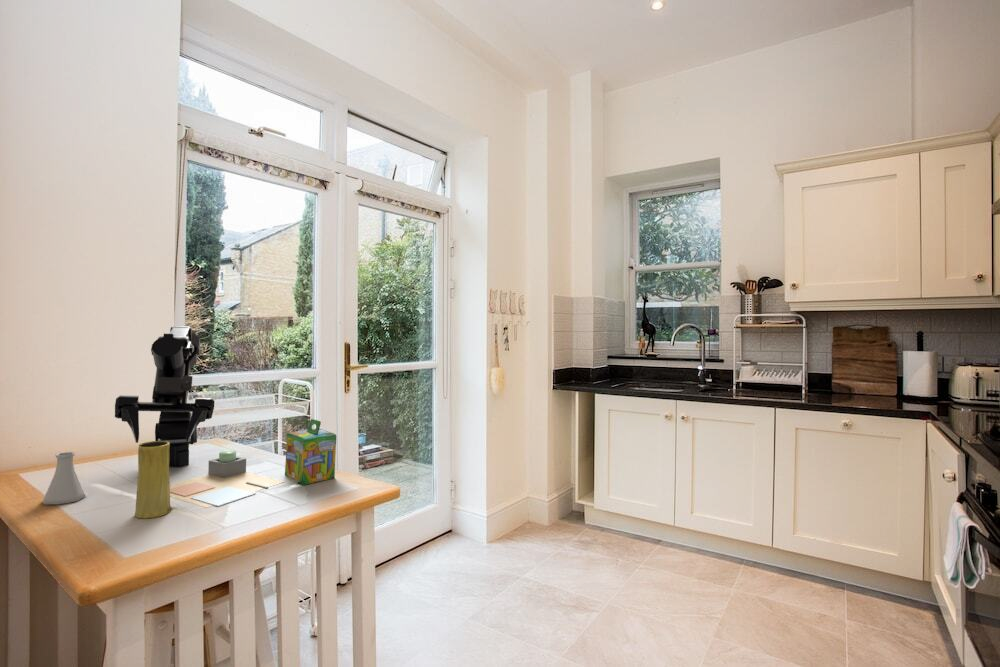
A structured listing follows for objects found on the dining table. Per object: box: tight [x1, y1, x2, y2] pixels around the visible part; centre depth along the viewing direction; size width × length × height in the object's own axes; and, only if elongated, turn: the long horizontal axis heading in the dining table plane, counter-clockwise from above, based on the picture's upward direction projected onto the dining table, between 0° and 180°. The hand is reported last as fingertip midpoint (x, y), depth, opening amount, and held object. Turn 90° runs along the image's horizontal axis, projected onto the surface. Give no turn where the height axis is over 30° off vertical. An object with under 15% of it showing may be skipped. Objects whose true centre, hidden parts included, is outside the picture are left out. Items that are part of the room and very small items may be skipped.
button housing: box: [207, 455, 247, 478], centre depth 129 cm, size 6×6×4 cm
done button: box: [218, 449, 237, 463], centre depth 128 cm, size 4×4×4 cm
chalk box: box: [284, 418, 337, 486], centre depth 130 cm, size 9×9×15 cm
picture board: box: [170, 471, 286, 509], centre depth 119 cm, size 22×20×1 cm
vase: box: [134, 440, 172, 520], centre depth 104 cm, size 6×6×14 cm
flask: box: [42, 451, 86, 505], centre depth 109 cm, size 7×7×10 cm
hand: (162, 441), depth 111 cm, fingers open, 9 cm apart
